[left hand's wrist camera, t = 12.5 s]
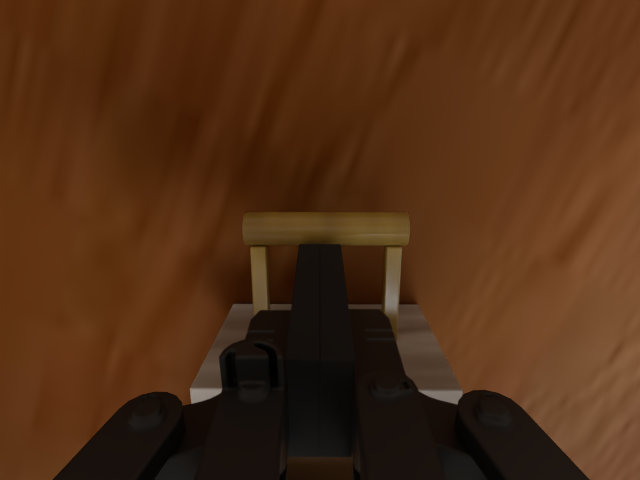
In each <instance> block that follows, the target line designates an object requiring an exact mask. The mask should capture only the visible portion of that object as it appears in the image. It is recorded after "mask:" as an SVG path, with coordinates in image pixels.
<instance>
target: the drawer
mask: <svg viewBox="0 0 640 480" xmlns="http://www.w3.org/2000/svg"><path fill="white" fill-rule="evenodd" d="M242 236H243V241H244V244H245V245H252V246H251V248H250V254H251V274H252V295H253V304H233V306H232V308H231V310H230V312H229V314H228V315H227V317H226V319H225V321H224V323H223V325H222V327H221V329H220V331H219V333H218V335H217V337H216V339H215V341H214V343H213V345H212V347H211V349H210V350H209V352H208V354H207V356H206V358H205V360H204V362H203V364H202V366H201V368H200V370H199V372H198V374H197V376H196V378H195V380H194V382H193V384H192V385H191V387H190V395H191V404H193V403H197V402H201V401H204V400H207V399H210V398H212V397H214V396H216V395H218V394H220V393H221V391H222V383H221V373H220V364H219V356H220V354H221V353H222V351H223V350H224V349H225V348H227V347H228V346H230V345H231V344H232V343H235V342H238V341H241V340H244V339H245V337H246V334H247V330H248V327H249V323H250V320H251V319H252V318H253V317H254V316H255V315H256V314H257V313H258V312H259V311H260V310H291V305H292V304H270V284H269V257H268V245H299V244H341V245H376V246H384V257H383V281H382V304H348V307H349V309H380V310H381V311H382V312H383V313H384V314H385V315H386V316H387V317H388V318H389V319H390V323H391V326H392V331H393V333H394V336H395V341H396V343H397V347H398V350H399V353H400V357H401V360H402V364H403V367H404V371H405V374H406V376H408V377H409V378H410V379H412V380H413V381H414V383H415V385H416V386H417V388H418V391H420V392H421V393H423V394H425V395H427V396H429V397H431V398H435V399H438V400H441V401H445V402H450V403H454V404H458V400H459V399H460V398H461V397H462V394H463V390H462V388H461V386H460V384H459V382H458V380H457V378H456V376H455V374H454V372H453V370H452V369H451V367H450V365H449V363H448V361H447V359H446V357H445V355H444V353H443V351H442V349H441V347H440V345H439V343H438V342H437V340H436V338H435V336H434V334H433V332H432V330H431V328H430V326H429V324H428V322H427V320H426V318H425V316H424V315H423V313H422V311H421V309H420V307H419V305H399V295H400V276H401V258H402V247H401V246H405V245H407V244H408V242H409V239H410V218H409V215H408V213H407V212H245V213H244V216H243V221H242ZM287 472H288V480H352V472H353V458H352V457H287Z"/></svg>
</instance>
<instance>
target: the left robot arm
mask: <svg viewBox="0 0 640 480" xmlns="http://www.w3.org/2000/svg"><path fill="white" fill-rule="evenodd" d="M219 364H220V373H221V383H222V391H221V393H220V394H218V395H216V396H214V397H212V398H210V399H207V400H204V401H201V402H197V403H193V404H189V405H184V406H182V402H181V401H180V400H179V398H178V397H177V396H175V395H173V394H170V393H168V392H152V393H147V394H143V395H140V396H138V397H136V398H134V399H132V400H130V401H128V402H127V403H126V404H125V405H123V406H122V407H121V408H120V409H118V411H117V412H116V413H115V414H114V415H113V416H112V417H111V418H110V419H109V420H108V421H107V422H106V423H105V424H104V425H103V427H102V428H101V429H100V430H99V431H98V432H97V433H96V434H95V435H94V436H93V437H92V438H91V439H90V440H89V441H88V443H87V444H86V445H85V446H84V447H83V448H82V449H81V450H80V451H79V452H78V453H77V454H76V455H75V456H74V458H73V459H72V460H71V461H70V462H69V463H68V464H67V465H66V466H65V467H64V468H63V469H62V470H61V471H60V472H59V474H58V475H57V476H56V477H55V478H54V479H53V480H288V472H287V457H352V458H353V472H352V480H589V479H588V478H587V476H586V475H585V474H584V473H583V472H582V471H581V470H580V469H579V468H578V467H577V466H576V465H575V464H574V463H573V462H572V461H571V460H570V458H569V457H568V456H567V455H566V454H565V453H564V452H563V451H562V450H561V449H560V448H559V447H558V446H557V445H556V444H555V443H554V442H553V440H552V439H551V438H550V437H549V436H548V435H547V434H546V433H545V432H544V431H543V430H542V429H541V428H540V427H539V426H538V425H537V423H536V422H535V421H534V420H533V419H532V418H531V417H530V416H529V415H528V414H527V413H526V412H525V411H524V410H523V409H522V408H521V407H520V406H519V405H518V404H516V403H515V402H514V401H513V400H511V399H510V398H508V397H506V396H503V395H501V394H499V393H496V392H491V391H487V390H473V391H471V392H468V393H465V394H463V396H462V397H461V398H460V399H459V400H458V404H454V403H450V402H445V401H441V400H438V399H435V398H431V397H429V396H427V395H425V394H423V393H421V392H420V391H418V388H417V386H416V385H415V383H414V381H413V380H412V379H410V378H409V377H408V376H406V374H405V371H404V367H403V364H402V360H401V357H400V353H399V350H398V347H397V343H396V341H395V336H394V333H393V331H392V326H391V323H390V319H389V318H388V317H387V316H386V315H385V314H384V313H383V312H382V311H381V310H380V309H349V307H348V299H347V292H346V284H345V276H344V268H343V260H342V252H341V244H299V250H298V258H297V266H296V274H295V282H294V290H293V297H292V305H291V310H260V311H259V312H258V313H257V314H256V315H255V316H254V317H253V318H252V319H251V320H250V323H249V327H248V330H247V334H246V337H245V339H244V340H241V341H238V342H235V343H232V344H231V345H230V346H228V347H227V348H225V349H224V350H223V351H222V353H221V354H220V356H219Z"/></svg>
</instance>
